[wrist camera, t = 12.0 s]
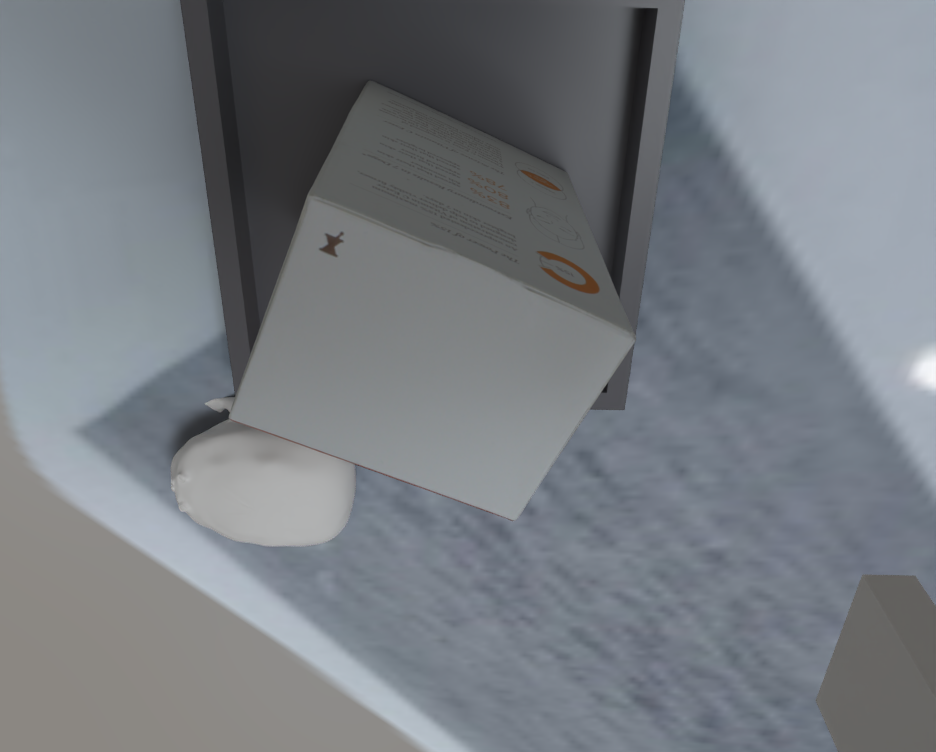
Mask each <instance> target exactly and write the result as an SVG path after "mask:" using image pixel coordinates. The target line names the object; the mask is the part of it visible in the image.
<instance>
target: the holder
mask: <svg viewBox="0 0 936 752" xmlns="http://www.w3.org/2000/svg"><path fill="white" fill-rule="evenodd" d="M180 2H181V9H182V17H183V24H184V31H185V38H186V45H187V53H188V60H189V67H190V74H191V81H192V89H193V96H194V103H195V110H196V117H197V125H198V132H199V139H200V146H201V153H202V161H203V168H204V175H205V182H206V189H207V197H208V204H209V211H210V218H211V225H212V233H213V240H214V247H215V254H216V261H217V269H218V276H219V283H220V290H221V297H222V305H223V312H224V319H225V326H226V333H227V341H228V348H229V355H230V362H231V369H232V377H233V384H234V391H235V396H236V393H237V391H238V388H239V385H240V383H241V380H242V377H243V374H244V371H245V368H246V366H247V363H248V360H249V357H250V354H251V352H252V349H253V346H254V343H255V340H256V338H257V335H258V332H259V329H260V326H261V324H262V321H263V318H264V315H265V312H266V310H267V307H268V304H269V301H270V299H271V296H272V293H273V290H274V288H275V285H276V282H277V279H278V277H279V274H280V271H281V269H282V266H283V263H284V260H285V258H286V255H287V252H288V249H289V247H290V244H291V241H292V238H293V236H294V233H295V230H296V227H297V224H298V221H299V218H300V215H301V212H302V209H303V207H304V204H305V201H306V198H307V195H308V193H309V191H310V189H311V188H312V186H313V184H314V182H315V180H316V178H317V176H318V174H319V172H320V170H321V168H322V166H323V164H324V162H325V160H326V159H327V157H328V155H329V153H330V151H331V149H332V147H333V145H334V143H335V141H336V139H337V137H338V135H339V133H340V131H341V129H342V127H343V125H344V123H345V121H346V119H347V117H348V114H349V112H350V111H351V109H352V107H353V105H354V104H355V102H356V100H357V99H358V97H359V95H360V93H361V92H362V90H363V88H364V86H365V85H366V83H367V82H368V81H369V80H371V81H374V82H376V83H378V84H381V85H383V86H385V87H387V88H390V89H392V90H394V91H396V92H398V93H401V94H403V95H405V96H407V97H409V98H411V99H414V100H416V101H418V102H420V103H422V104H424V105H426V106H429V107H431V108H433V109H435V110H437V111H439V112H441V113H443V114H446V115H448V116H450V117H452V118H454V119H456V120H458V121H460V122H463V123H465V124H467V125H469V126H471V127H473V128H475V129H478V130H480V131H482V132H484V133H486V134H488V135H490V136H493V137H495V138H497V139H499V140H501V141H503V142H505V143H507V144H509V145H511V146H513V147H516V148H518V149H520V150H522V151H524V152H526V153H528V154H530V155H532V156H534V157H536V158H538V159H540V160H542V161H544V162H546V163H548V164H551V165H553V166H555V167H557V168H559V169H561V170H563V171H565V172H567V174H568V175H569V178H570V180H571V183H572V185H573V188H574V190H575V193H576V195H577V197H578V200H579V202H580V205H581V207H582V209H583V212H584V214H585V217H586V219H587V221H588V224H589V226H590V229H591V231H592V234H593V236H594V238H595V241H596V243H597V245H598V248H599V250H600V253H601V255H602V258H603V260H604V263H605V265H606V267H607V270H608V272H609V275H610V277H611V280H612V282H613V284H614V287H615V289H616V292H617V294H618V297H619V299H620V302H621V304H622V306H623V309H624V311H625V313H626V316H627V318H628V320H629V322H630V325H631V327H632V329H633V332H634V334H635V335H636V329H637V322H638V315H639V308H640V301H641V295H642V288H643V281H644V274H645V268H646V261H647V254H648V247H649V240H650V234H651V227H652V220H653V213H654V207H655V200H656V193H657V186H658V179H659V173H660V166H661V159H662V152H663V146H664V139H665V132H666V125H667V118H668V112H669V105H670V98H671V91H672V85H673V78H674V71H675V64H676V57H677V51H678V44H679V37H680V30H681V24H682V17H683V10H684V3H685V0H180ZM633 349H634V344H633V346H632V347H631V349H630V350H629V352H628V353H627V355H626V356H625V358H624V359H623V361H622V362H621V364H620V365H619V366H618V368H617V369H616V371H615V372H614V374H613V375H612V377H611V378H610V380H609V381H608V383H607V384H606V386H605V387H604V389H603V390H602V392H601V393H600V395H599V396H598V398H597V399H596V401H595V402H594V404H593V405H592V407H591V408H590V409H594V410H625V403H626V396H627V390H628V383H629V376H630V369H631V362H632V356H633Z"/></svg>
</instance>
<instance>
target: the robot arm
mask: <svg viewBox="0 0 936 752" xmlns="http://www.w3.org/2000/svg"><path fill="white" fill-rule="evenodd" d="M816 702H817V705H818V707H819V709H820V711H821V714H822V716H823V718H824V720H825V723H826V725H827V727H828V730H829V732H830V734H831V736H832V739H833V741H834V743H835V745H836V748H837V750H838V752H936V606H935V605H934V603H933V602H932V600H931V599H930V597H929V596H928V594H927V593H926V591H925V590H924V588H923V587H922V585H921V584H920V582H919V581H918V579H917V578H916V576H905V575H862V577H861V580H860V583H859V586H858V588H857V591H856V594H855V596H854V599H853V602H852V604H851V607H850V610H849V612H848V615H847V618H846V620H845V623H844V626H843V629H842V631H841V634H840V637H839V639H838V642H837V645H836V647H835V650H834V653H833V655H832V658H831V661H830V664H829V666H828V669H827V672H826V674H825V677H824V680H823V682H822V685H821V688H820V690H819V693H818V696H817V698H816Z"/></svg>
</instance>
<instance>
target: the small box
mask: <svg viewBox="0 0 936 752" xmlns="http://www.w3.org/2000/svg"><path fill="white" fill-rule="evenodd" d="M635 341H636V336H635V334H634V332H633V329H632V327H631V325H630V322H629V320H628V318H627V316H626V313H625V311H624V309H623V306H622V304H621V302H620V299H619V297H618V294H617V292H616V289H615V287H614V284H613V282H612V280H611V277H610V275H609V272H608V270H607V267H606V265H605V263H604V260H603V258H602V255H601V253H600V250H599V248H598V245H597V243H596V241H595V238H594V236H593V234H592V231H591V229H590V226H589V224H588V221H587V219H586V217H585V214H584V212H583V209H582V207H581V205H580V202H579V200H578V197H577V195H576V193H575V190H574V188H573V185H572V183H571V180H570V178H569V175H568V174H567V172H565V171H563V170H561V169H559V168H557V167H555V166H553V165H551V164H548V163H546V162H544V161H542V160H540V159H538V158H536V157H534V156H532V155H530V154H528V153H526V152H524V151H522V150H520V149H518V148H516V147H513V146H511V145H509V144H507V143H505V142H503V141H501V140H499V139H497V138H495V137H493V136H490V135H488V134H486V133H484V132H482V131H480V130H478V129H475V128H473V127H471V126H469V125H467V124H465V123H463V122H460V121H458V120H456V119H454V118H452V117H450V116H448V115H446V114H443V113H441V112H439V111H437V110H435V109H433V108H431V107H429V106H426V105H424V104H422V103H420V102H418V101H416V100H414V99H411V98H409V97H407V96H405V95H403V94H401V93H398V92H396V91H394V90H392V89H390V88H387V87H385V86H383V85H381V84H378V83H376V82H374V81H371V80H369V81H368V82H367V83H366V85H365V86H364V88H363V90H362V92H361V93H360V95H359V97H358V99H357V100H356V102H355V104H354V105H353V107H352V109H351V111H350V112H349V114H348V117H347V119H346V121H345V123H344V125H343V127H342V129H341V131H340V133H339V135H338V137H337V139H336V141H335V143H334V145H333V147H332V149H331V151H330V153H329V155H328V157H327V159H326V160H325V162H324V164H323V166H322V168H321V170H320V172H319V174H318V176H317V178H316V180H315V182H314V184H313V186H312V188H311V189H310V191H309V193H308V195H307V198H306V201H305V204H304V207H303V209H302V212H301V215H300V218H299V221H298V224H297V227H296V230H295V233H294V236H293V238H292V241H291V244H290V247H289V249H288V252H287V255H286V258H285V260H284V263H283V266H282V269H281V271H280V274H279V277H278V279H277V282H276V285H275V288H274V290H273V293H272V296H271V299H270V301H269V304H268V307H267V310H266V312H265V315H264V318H263V321H262V324H261V326H260V329H259V332H258V335H257V338H256V340H255V343H254V346H253V349H252V352H251V354H250V357H249V360H248V363H247V366H246V368H245V371H244V374H243V377H242V380H241V383H240V385H239V388H238V391H237V393H236V396H235V399H234V401H233V404H232V408H231V411H230V414H229V419H230V420H232V421H234V422H237V423H240V424H242V425H245V426H248V427H251V428H254V429H257V430H260V431H263V432H265V433H268V434H271V435H274V436H276V437H279V438H282V439H285V440H288V441H290V442H293V443H296V444H299V445H302V446H305V447H307V448H310V449H313V450H316V451H318V452H321V453H324V454H327V455H330V456H333V457H335V458H338V459H341V460H344V461H347V462H350V463H353V464H355V465H358V466H361V467H364V468H367V469H369V470H372V471H375V472H378V473H381V474H383V475H386V476H389V477H392V478H394V479H397V480H400V481H403V482H406V483H409V484H411V485H414V486H417V487H420V488H423V489H426V490H428V491H431V492H434V493H437V494H440V495H442V496H445V497H448V498H451V499H454V500H456V501H459V502H462V503H465V504H467V505H470V506H473V507H476V508H478V509H481V510H484V511H487V512H490V513H492V514H495V515H498V516H501V517H504V518H506V519H509V520H511V521H515V520H517V519H518V517H519V516H520V514H521V513H522V511H523V510H524V508H525V506H526V505H527V503H528V502H529V500H530V499H531V497H532V496H533V494H534V493H535V491H536V489H537V488H538V486H539V485H540V483H541V482H542V480H543V479H544V477H545V476H546V474H547V473H548V471H549V470H550V468H551V467H552V465H553V464H554V462H555V461H556V459H557V458H558V456H559V455H560V453H561V452H562V450H563V449H564V447H565V446H566V444H567V443H568V441H569V440H570V438H571V437H572V435H573V434H574V432H575V431H576V429H577V428H578V426H579V425H580V423H581V422H582V420H583V419H584V417H585V416H586V414H587V413H588V411H589V410H590V408H591V407H592V405H593V404H594V402H595V401H596V399H597V398H598V396H599V395H600V393H601V392H602V390H603V389H604V387H605V386H606V384H607V383H608V381H609V380H610V378H611V377H612V375H613V374H614V372H615V371H616V369H617V368H618V366H619V365H620V364H621V362H622V361H623V359H624V358H625V356H626V355H627V353H628V352H629V350H630V349H631V347H632V346H633V344H634V343H635Z"/></svg>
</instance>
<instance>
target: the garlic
mask: <svg viewBox="0 0 936 752" xmlns="http://www.w3.org/2000/svg"><path fill="white" fill-rule="evenodd" d="M234 399H235V397H225V398H220V399H213V400H210V401H209V402H207V403H205V404H206V405H207V406H209V407H210V408H211V409H213V410H216V411H218V412H220V413H221V412H222V411H223V410H224V409H227V410H228V411H229V412H230V411H231V408H232V404H233V401H234ZM171 485H172V486H171V488H172V491H174V492H175V495H176V499H177V502H178V504H179V509H180V511H182V512H186V513H187V514H188V515H189V516H190V517H191V518H192V519H193V520H194V521H195V522H196V523H198V524H200V525H202V526H205V527H208V528H210V529H212V530H214V531H216V532H217V533H219V534H221V535H223V536H225V537H227V538H229V539H231V540H234V541H238V542H248V543H255V544H259V545H263V546H310V545H316V544H320V543H324V542H327V541H329V540H331V539H333V538H334V537H335V536H337V535H338V534H339V533H340V532H341V531H342V530H343V528H344V527H345V526H346V524H347V522H348V520H349V517H350V514H351V510H352V506H353V502H354V497H355V490H356V474H355V464H353V463H350V462H347V461H344V460H341V459H338V458H335V457H333V456H330V455H327V454H324V453H321V452H318V451H316V450H313V449H310V448H307V447H305V446H302V445H299V444H296V443H293V442H290V441H288V440H285V439H282V438H279V437H276V436H274V435H271V434H268V433H265V432H263V431H260V430H257V429H254V428H251V427H248V426H245V425H242V424H240V423H237V422H234V421H232V420H230V419H227V420H225V421H223V422H221V423H219V424H217V425H215V426H213V427H212V428H210V429H208V430H207V431H205V432H203V433H201V434H199V435H196V436H194V437H192V438H191V439H190V440H188V441H187V442H186V443H185V445H184V446H183V447H182V448H181V449H180V450H179V451H178V452H177V453H176V454H175V456H174V458H173V460H172V463H171Z"/></svg>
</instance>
